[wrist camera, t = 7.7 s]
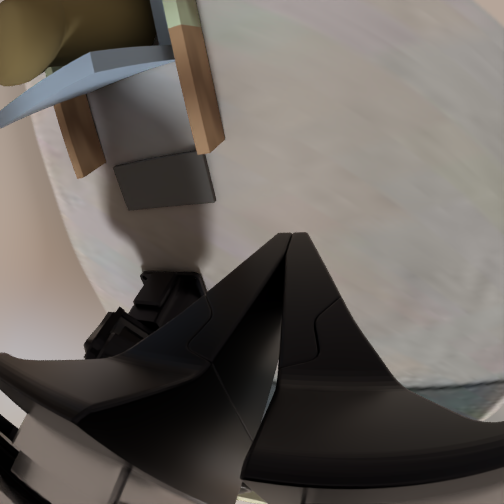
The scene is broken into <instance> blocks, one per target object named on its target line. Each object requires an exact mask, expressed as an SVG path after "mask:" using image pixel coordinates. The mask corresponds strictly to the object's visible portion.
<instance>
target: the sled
mask: <svg viewBox="0 0 504 504" xmlns="http://www.w3.org/2000/svg"><path fill="white" fill-rule="evenodd" d="M150 3H151V8H152V13H153V18H154V23H155V28H156V32H157V37H158V42H159V45H158V46H140V47H127V48H117V49H108V50H100V51H93V52H89V53H87V54H85V55H83V56H81V57H80V58H78V59H76V60H74V61H72V62H71V63H69V64H67V65H65V66H64V67H62V68H60V69H59V70H57V71H56V72H54V73H52V74H51V75H49V76H48V77H46V78H45V79H43V80H41V81H40V82H38V83H37V84H36V85H34V86H33V87H31V88H30V89H28V90H27V91H25V92H24V93H23V94H22V95H20V96H19V97H18V98H16V99H15V100H13V101H12V102H11V103H9V104H8V105H7V106H6V107H4V108H3V109H2V110H1V111H0V128H3V127H5V126H7V125H9V124H11V123H13V122H15V121H17V120H19V119H22V118H24V117H26V116H29V115H31V114H33V113H36V112H38V111H40V110H43V109H45V108H48V107H50V106H53V105H56V104H58V103H61V102H64V101H66V100H69V99H72V98H75V97H78V96H81V95H84V94H87V93H90V92H92V91H95V90H97V89H99V88H102V87H104V86H106V85H109V84H111V83H114V82H116V81H119V80H121V79H124V78H127V77H129V76H132V75H135V74H137V73H140V72H143V71H146V70H149V69H152V68H155V67H158V66H161V65H164V64H168V63H171V62H174V61H175V58H174V53H173V48H172V44H171V39H170V35H169V30H168V25H167V21H166V16H165V11H164V6H163V1H162V0H150Z"/></svg>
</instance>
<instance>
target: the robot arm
mask: <svg viewBox="0 0 504 504" xmlns="http://www.w3.org/2000/svg"><path fill="white" fill-rule="evenodd" d="M140 277H141V280H142V282H143V284H144V286H143V287H142V289H141V290H140V292H139V293H138V295H137V296H136V298H135V299H134V301H133V303H134V306H133V307H132V309H131V310H130V312H129V313H126V312H125V310H124V309H122V308H121V307H119V308H118V310H117V311H116V312H108V313H107V315H106V316H105V318H104V319H103V321H102V322H101V323H100V325H99V326H98V327H97V328H96V330H95V331H94V332H93V333H92V334H91V335H90V337H89V338H88V339H87V340H86V342H85V343H84V348H85V352H86V354H85V356H84V358H85V360H45V361H44V360H41V361H40V360H39V361H38V360H23V359H19V358H16V357H13V356H11V355H9V354H7V353H0V390H1V391H2V392H3V393H5V394H6V395H7V396H8V397H9V398H10V399H11V400H12V401H13V402H14V403H16V404H17V405H18V406H19V407H20V408H21V409H22V410H24V411H25V412H26V413H27V415H26V417H25V419H24V420H23V422H22V424H21V426H20V428H19V429H18V428H17V427H16V426H14V425H13V424H12V423H10V422H9V421H8V420H7V419H5V418H4V417H3V416H2V415H1V414H0V504H235V502H236V499H237V496H238V493H239V490H240V488H241V484H242V481H243V482H244V483H245V484H246V485H247V486H248V487H249V488H250V489H252V490H253V491H254V492H255V493H256V494H257V495H258V496H260V497H261V498H262V499H263V500H264V501H265V502H267V503H268V504H504V421H502V422H482V421H476V420H472V419H470V418H467V417H464V416H462V415H460V414H458V413H455V412H453V411H451V410H449V409H447V408H445V407H443V406H440V405H438V404H436V403H434V402H432V401H430V400H428V399H426V398H424V397H422V396H420V395H418V394H416V393H414V392H412V391H410V390H408V389H406V388H405V387H404V386H402V385H401V384H400V383H399V382H398V381H397V380H396V379H395V377H394V376H393V375H392V373H391V372H390V371H389V369H388V368H387V367H386V365H385V364H384V362H383V361H382V359H381V358H380V357H379V355H378V354H377V352H376V351H375V350H374V348H373V347H372V345H371V344H370V343H369V341H368V340H367V338H366V337H365V336H364V334H363V333H362V331H361V330H360V328H359V327H358V325H357V324H356V322H355V321H354V319H353V317H352V315H351V314H350V312H349V310H348V308H347V306H346V304H345V302H344V300H343V299H342V297H341V295H340V293H339V291H338V289H337V287H336V285H335V283H334V281H333V279H332V277H331V276H330V274H329V272H328V270H327V268H326V266H325V264H324V262H323V261H322V259H321V257H320V255H319V253H318V251H317V249H316V248H315V246H314V244H313V242H312V240H311V238H310V237H309V235H308V233H306V232H297V233H293V234H292V233H278V234H276V235H275V236H274V237H273V238H272V239H270V240H269V241H268V242H267V243H266V244H264V245H263V246H262V247H261V248H260V249H258V250H257V251H256V252H255V253H254V254H252V255H251V256H250V257H249V258H248V259H246V260H245V261H244V262H243V263H242V264H240V265H239V266H238V267H237V268H236V269H234V270H233V271H232V272H231V273H230V274H228V275H227V276H226V277H225V278H224V279H222V280H221V281H220V282H219V283H218V284H216V285H215V286H214V287H213V288H211V289H210V290H209V291H208V292H207V293H206V290H205V288H204V285H203V282H202V279H201V276H200V275H199V274H198V273H194V272H148V271H144V272H142V274H141V275H140ZM195 278H196V279H195ZM278 360H279V364H278V377H277V384H276V389H275V392H274V395H273V397H272V400H271V402H270V404H269V406H268V409H267V411H266V413H265V416H264V418H263V420H262V417H263V414H264V410H265V407H266V403H267V400H268V396H269V393H270V389H271V385H272V382H273V378H274V374H275V371H276V367H277V363H278ZM261 420H262V422H261ZM260 424H261V425H260Z"/></svg>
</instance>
